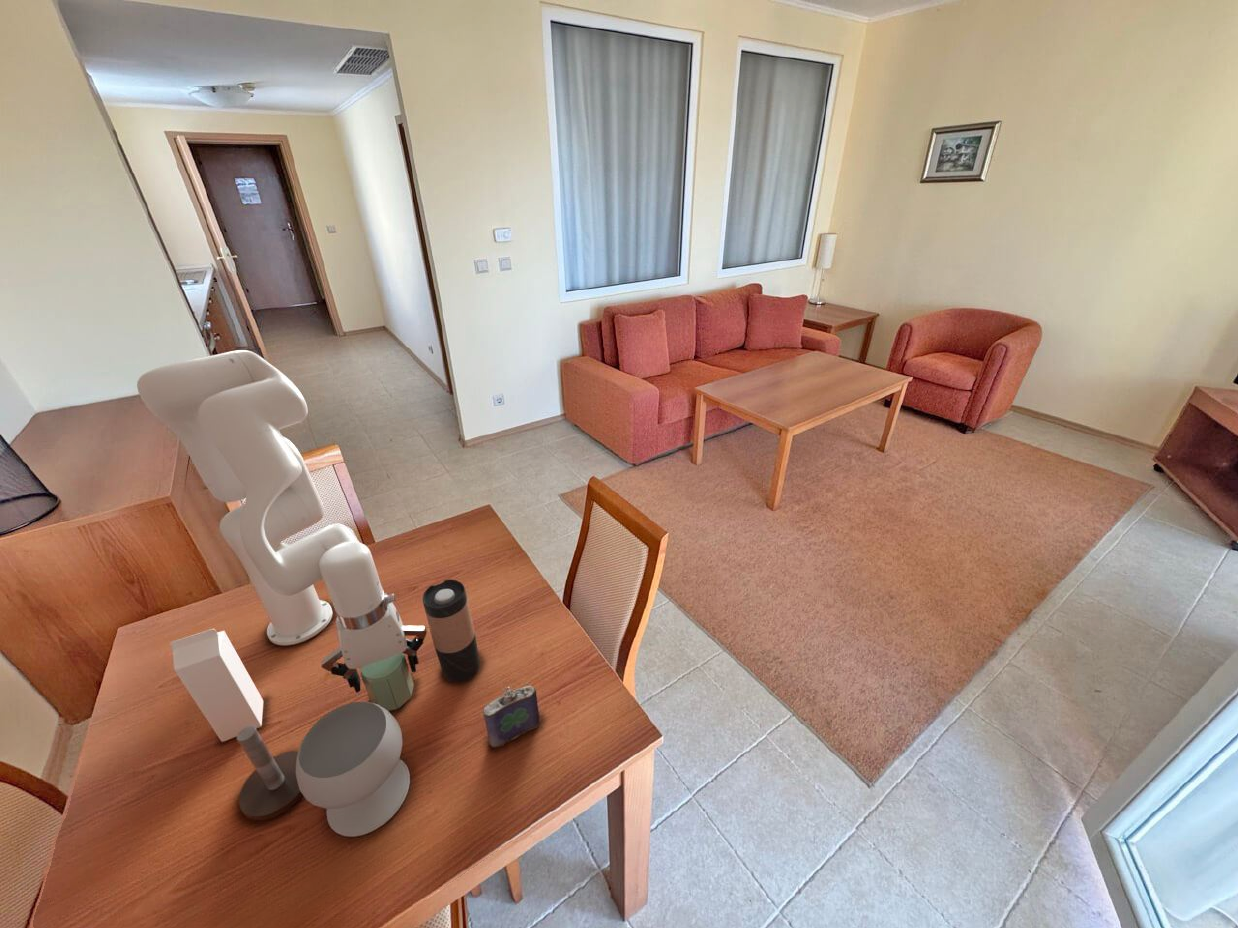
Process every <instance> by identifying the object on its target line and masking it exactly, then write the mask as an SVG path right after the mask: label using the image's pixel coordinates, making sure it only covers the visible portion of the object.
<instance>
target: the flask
mask: <svg viewBox="0 0 1238 928" xmlns="http://www.w3.org/2000/svg"><path fill="white" fill-rule="evenodd" d="M510 688H511V687H510V686H506V687H504V689H502V690H501V691H502V692H504V693H503V695H501V696H499V697H498V698H496V699H494V700H492V701H491V702H490V703H488V704H487V705H485V706H484V708H483V710H482V711H483V712H482V714H483V719H484V722H485V727H486V732H487V736H488V742H489V745H490V746H491V747H492V748H499V747H503V746H505V744H506V743H508V742H510V741H513V740H515V739H517V738H518V737H519V736H520V735H521V734H523V735H524V734H525V733H526V732H529V731H531V730H533V729H536V728H537V727H538V726H539V724H540V723H541V721H540V712H539V704H538V695H537V690H536V689H535V687H534V686H532V685H525V686H523V687H520V688H516V689H510ZM504 690H505V691H504Z"/></svg>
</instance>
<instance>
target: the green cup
mask: <svg viewBox="0 0 1238 928" xmlns="http://www.w3.org/2000/svg"><path fill="white" fill-rule="evenodd" d="M408 665H409V664H408V661H407V659H406V654H404V653H401V654H398V655H396V656H393V657H390V658H388V659H385V660H382V661H379V662H376V663H373V664H370V665H367V666H364V667H361V668H360V676H361V679H362V682H363V684H364V687H365V690H366V692H367V695H368V697H369V700H370V703H375V704H377V705H379V706H381V707H383V708H385V709H386V710H388V712H390V711H393V710H398V709H400V708H401V707H402V706H403V705H405V704H406V702H408V701H409V700H410V699H411V698H412V696H413V690H414V686H415V684H414V681H413V678H412V674H411V670H410V668H409V666H408Z"/></svg>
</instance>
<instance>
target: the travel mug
mask: <svg viewBox="0 0 1238 928" xmlns="http://www.w3.org/2000/svg"><path fill="white" fill-rule="evenodd" d="M422 604H423V607H424V611H425V615H426V619H427V623H428V628H429V631H430V635H431V638H432V642H433V643H432V644H433V646H434V649H435V652H436V655H437V658H438V662H439V665H440V667H441V671H442V674H443V676H444V678H445V679H446V680H447V681H448V682H451V683H463V682H467V681H468V680H470V679H471V678H473V677H474V676H475V675H476V674H477V672H478V671H479V669H480V655H479V650H478V644H477V643H478V642H477V637H476V632H475V627H474V622H473V619H472V614H471V609H470V605H469V601H468V596H467V592H466V588H465V586H464V584H463V583H462V582H461V581H459V580H456V579H444V580H443V581H442V582H441V583H438V584H432V585H430V586H429V587H427V588H426V590H425V591H424V592H423V594H422Z"/></svg>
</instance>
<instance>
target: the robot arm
mask: <svg viewBox="0 0 1238 928" xmlns="http://www.w3.org/2000/svg"><path fill="white" fill-rule="evenodd" d="M136 388H137V392H138V394H139V396H140V399H141V401H142V402H143V404H144V405H145V407H146V408H147V409H148V410H149V411H150V413H151V414H152V415H153V416H154V417H155V418H156V419H157V420H159V421H160V422H161V423H162V424H163V425H164V426H165V427H167V428H168V429H169V430H170V431H171V432H172V433H173V434H174V435H175V436H177V438H178V439H179V440H180V442H181V443H182V445H183V446H184V449H185V450H186V452H187V454H188V456H189V457H190V460H191V462H192V463H193V466H194V467H195V470H196V471H197V473H198V474H199V476H200V478H201V480H202V482H203V483H204V485H205V487H206V488H207V490H208V492H209V493H210V494H211V496H213V498H214V499H215V500H217V501H219V502H221V503H225V504H226V503H227V504H228V503H229V504H230V503H235V502H239V501H241V500H245V501H244V504H242V505H241V504H240V505H239V506H238V507H235V508H233V509H232V510H231V511H229V512H227V513H226V514H225V515H224V516H223V517H222V519H220V522H219V529H218V530H219V532H220V535H221V537H222V538H223V540H224V541H225V542H226V544H227V545H228V547H229V548H230V549H231V551H233V553H234V554H235V556H236V557H237V558H238V560H239V562H240V563H241V565H242V567H243V568H244V570H245V572H246V574H247V576H248V578H249V581H250V582H251V584H252V587H253V588H254V590H255V592H256V594H257V597H258V599H259V601H260V603H261V604H262V607H263V608H264V611H265V613H266V615H267V617H268V620H269V624H268V626H267V629H266V635H267V638H268V639H269V641H270V642H271V643H273V644H275V645H278V646H291V645H297V644H300V643H303V642H306V641H308V640H310V639H312V638H313V637H315V636H317V635H318V634H319V633H321V632H322V631H323V630H324V629H326V627H327V626H328V625H329V623H330V622H331V620H332V618H333V614H334V613H333V609H334V611H335V614H336V616H337V617H336V620H335V628H336V635H337V639H338V644H339V647H337V648H336V649H335V650H333V651H332V652H331V653H329V654H328V655H327V656H325V657H324V658H323V659H322V660H321V666H320V667H321V668H322V669H324V670H325V671H328V672H331V675H334V676H338V677H339V676H340V677H342V679H344V680H347V683H348V685H349V687H350V688H353V690H354V691H355V693H360V691H361V678H360V675H359V673H358V670H357V669H361V667H364V666H367V665H370V664H373V663H376V662H379V661H382V660H385V659H388V658H390V657H393V656H396V655H398V654H401V653H403V654H404V655H407V662H408V663H409V664H408V665H409V667H410V671H411V673H415V672H417V668H416V665H419V658H418V650H419V649H420V648H421V647H422V646H423V645H424V640H425V638H426V636H427V634H428V631H427V627H426V626H424V625H405V624H404V623H403V621H402V618H401V616H400V613H399V611H398V610H397V608H396V606H395V604H394V603H393V602H396V596H395V593H391V594H387V593H386V592H385V590H384V588H383V586H382V583H381V579H380V577H379V574H378V570H377V567H376V565H375V562H374V561H375V560H374V557H373V555H372V552H371V550H370V548H369V547H368V546H367V545H366V544H364V543H362V542H360V541H359V539H358V537H357V535H356V533H355V532H354V530H353V529H352V528H351V527H349V526H346V524H345V525H344V524H343V523H340V522H336V523H330V524H328V525H326V526H323V527H322V528H320V529H318V530H316V531H314V532H311V533H310V534H308V535H306V536H304V537H302V538H300V539H298V540H296V541H294V542H292V543H290V544H287V543H285V542H283V541H286V540H287V539H288V538H289V539H290V537H292V536H294V535H296V534H298V533H300V532H302V531H304V530H306V529H308V528H310V527H312V526H313V525H315V524H317V523H319V522H320V521H321V520H322V519H323V517H324V515H325V507H324V503H323V501H322V499H321V496H320V494H319V492H318V490H317V487H316V485H315V482H314V480H313V478H312V476H311V473H310V471H309V469H308V467H307V465H306V463H305V460H304V457H303V456H302V454H301V452H300V450H299V449H298V448H297V446H296V445H295V444H294V443H293V442H292V440H290V439H288V438H287V437H286V436H283V435H282V433H281V431H280V430H282V429H285V428H288V427H291V426H294V425H297V424H300V423H302V422H304V421H305V419H306V418H307V417H308V414H309V409H308V405H307V401H306V399H305V397H304V396H303V394H302V393H301V391H300V389H299V388H298V387H297V386H296V384H294V382H293V381H292V380H290V379H289V378H288V376H286V375H285V374H284V373H283V372H282V371H280V370H279V369H278V368H277V367H275V366H274V365H272V364H271V363H270V362H268V361H267V360H266V359H265V358H263V357H262V356H260V355H259V354H257V353H256V352H254V351H251V350H248V349H247V350H246V349H238V350H232V351H231V350H230V351H226V352H221V353H218V354H212V355H209V356H208V355H207V356H203V357H198V358H193V359H187V360H184V361H179V362H175V363H170V364H167V365H164V366H159V367H157V368H155V369H152V370H149V371H146V372H145V373H144V374H141V376H139V378H138V380H137V384H136ZM321 580H323V584H324V585H325V588H326V591H327V593H328V595H329V598H330V601H331V603H332V605H330V603H329V602H327V601H325V600H323V599H320V598H319V595H318V593H317V590H316V588H315V586H314V585H315V584H317V583H318V582H320V581H321ZM332 606H333V609H332ZM407 637H414V638H413V639H409V638H407ZM342 658H343V661H344V662H338V661H339V660H340V659H342Z"/></svg>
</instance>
